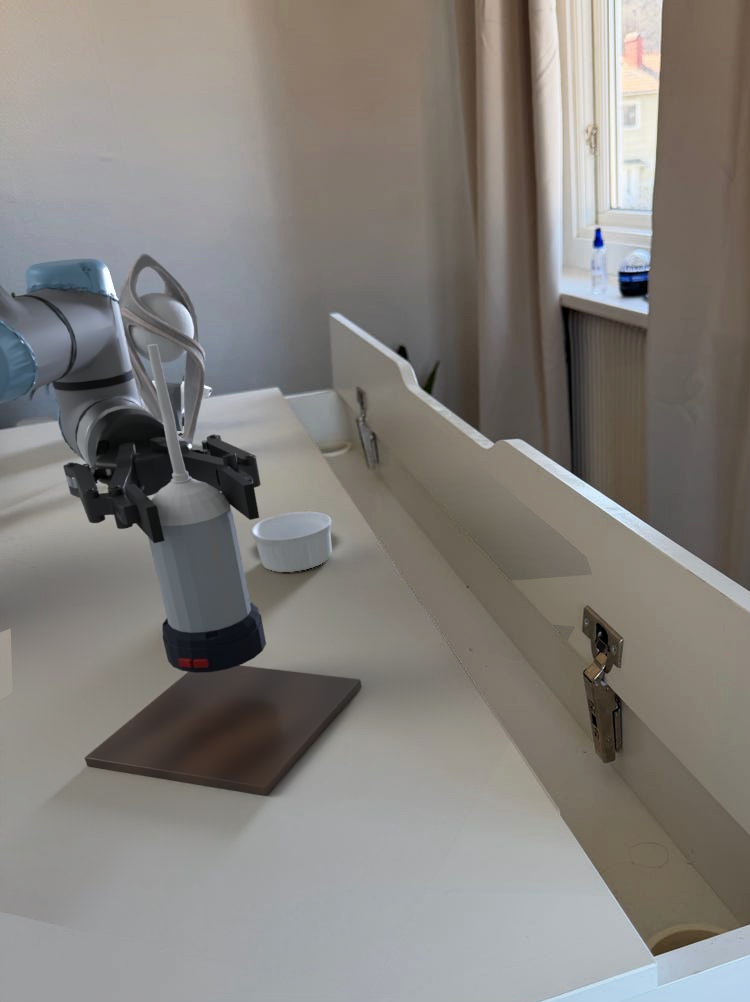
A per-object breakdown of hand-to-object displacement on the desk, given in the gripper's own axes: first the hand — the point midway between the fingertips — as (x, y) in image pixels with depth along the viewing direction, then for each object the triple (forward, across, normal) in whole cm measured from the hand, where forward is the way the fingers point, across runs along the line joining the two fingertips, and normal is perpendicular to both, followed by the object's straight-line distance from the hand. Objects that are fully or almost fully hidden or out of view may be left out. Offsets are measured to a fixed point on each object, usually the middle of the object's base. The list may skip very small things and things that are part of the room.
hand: (204, 512), depth 72 cm
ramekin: (-30, -17, -18) cm, 39 cm away
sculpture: (-81, -19, -18) cm, 85 cm away
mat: (0, +1, -18) cm, 18 cm away
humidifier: (-5, 0, -14) cm, 15 cm away
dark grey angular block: (-101, -22, -18) cm, 105 cm away
